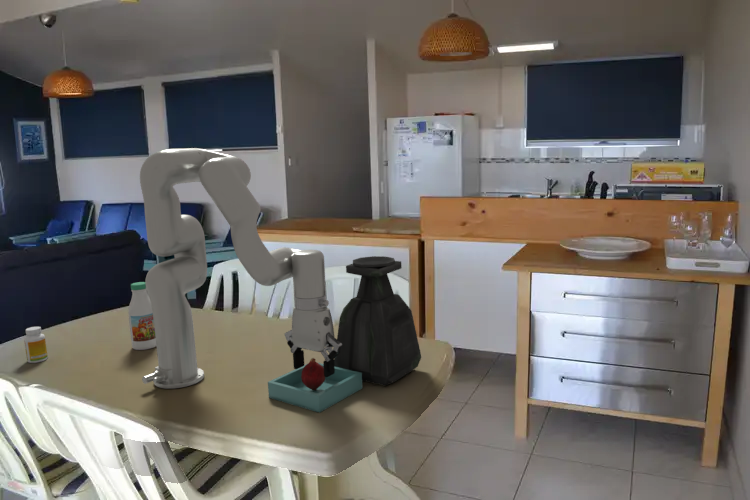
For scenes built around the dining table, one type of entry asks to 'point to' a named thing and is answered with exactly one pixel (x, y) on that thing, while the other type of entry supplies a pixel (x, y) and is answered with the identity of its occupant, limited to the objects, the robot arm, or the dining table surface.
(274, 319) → the dining table surface
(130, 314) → the milk bottle
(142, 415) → the dining table surface
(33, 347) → the supplement bottle
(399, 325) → the bottle
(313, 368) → the onion
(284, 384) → the serving dish
